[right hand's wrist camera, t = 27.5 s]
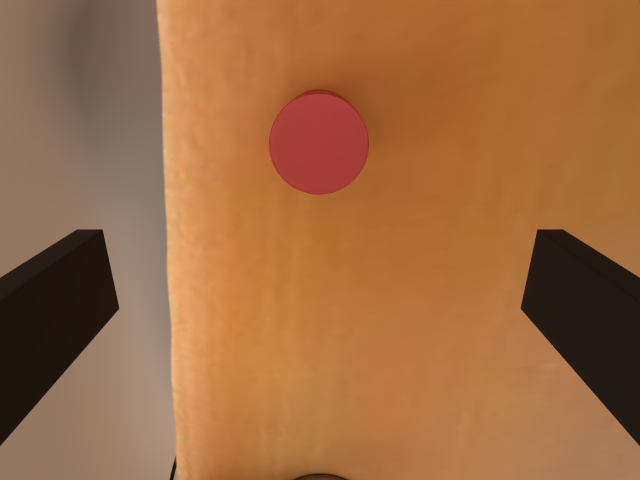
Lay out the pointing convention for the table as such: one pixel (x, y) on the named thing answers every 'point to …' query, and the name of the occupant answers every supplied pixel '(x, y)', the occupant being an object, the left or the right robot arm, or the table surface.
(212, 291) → the table surface
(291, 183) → the canister
